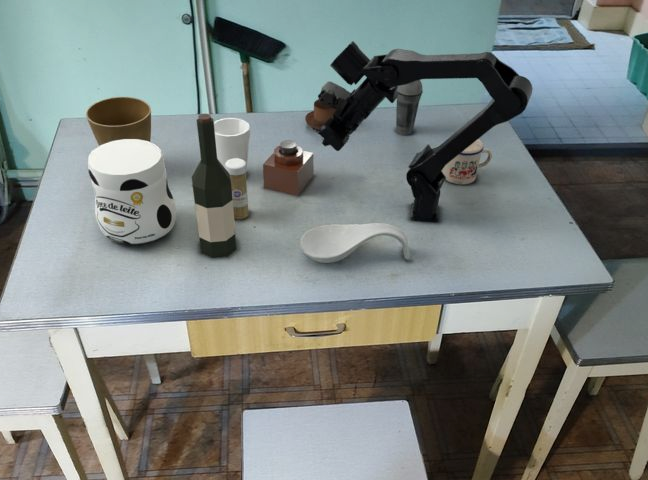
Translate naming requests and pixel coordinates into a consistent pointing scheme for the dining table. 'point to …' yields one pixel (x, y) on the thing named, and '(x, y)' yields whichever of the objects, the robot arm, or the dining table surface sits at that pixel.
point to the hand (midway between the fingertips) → (323, 144)
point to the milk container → (131, 191)
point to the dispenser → (288, 171)
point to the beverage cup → (407, 106)
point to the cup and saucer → (319, 115)
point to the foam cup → (232, 139)
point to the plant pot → (120, 119)
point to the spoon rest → (346, 240)
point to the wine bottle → (213, 196)
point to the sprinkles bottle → (238, 187)
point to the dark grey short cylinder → (288, 148)
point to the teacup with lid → (466, 164)
